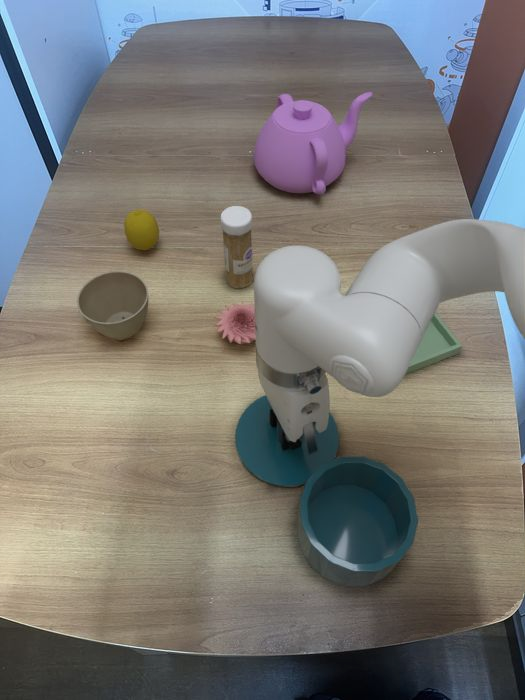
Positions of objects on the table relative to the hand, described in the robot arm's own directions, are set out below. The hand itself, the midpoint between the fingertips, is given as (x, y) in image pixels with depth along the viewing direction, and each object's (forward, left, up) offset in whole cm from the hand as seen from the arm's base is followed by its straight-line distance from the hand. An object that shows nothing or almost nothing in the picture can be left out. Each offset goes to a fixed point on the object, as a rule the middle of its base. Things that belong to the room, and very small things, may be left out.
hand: (287, 432), depth 70 cm
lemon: (+42, +7, -2) cm, 43 cm away
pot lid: (0, 0, -1) cm, 1 cm away
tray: (+10, -23, -2) cm, 25 cm away
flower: (+18, -1, -2) cm, 18 cm away
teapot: (+50, -28, -2) cm, 57 cm away
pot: (-14, -2, -2) cm, 14 cm away
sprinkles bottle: (+29, -5, -2) cm, 30 cm away
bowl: (+27, +15, -2) cm, 31 cm away
